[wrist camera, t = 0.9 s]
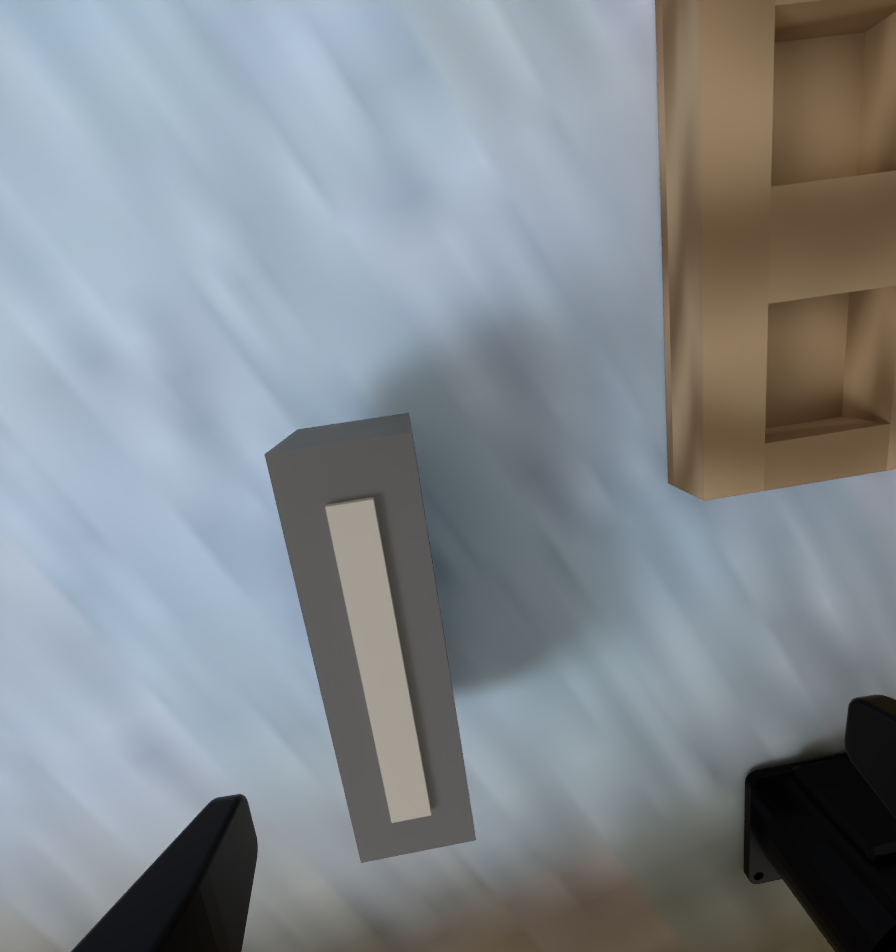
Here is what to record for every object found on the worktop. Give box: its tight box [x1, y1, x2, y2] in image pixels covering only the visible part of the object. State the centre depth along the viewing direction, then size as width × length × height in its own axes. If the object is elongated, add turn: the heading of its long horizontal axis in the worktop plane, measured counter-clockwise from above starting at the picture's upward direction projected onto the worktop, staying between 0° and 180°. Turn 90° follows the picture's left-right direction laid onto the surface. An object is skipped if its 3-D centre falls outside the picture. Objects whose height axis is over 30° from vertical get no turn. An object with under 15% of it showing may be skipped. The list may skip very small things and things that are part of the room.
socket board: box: [655, 0, 896, 501], centre depth 17 cm, size 16×9×2 cm, turn 8°
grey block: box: [265, 413, 476, 863], centre depth 17 cm, size 13×4×6 cm, turn 8°
